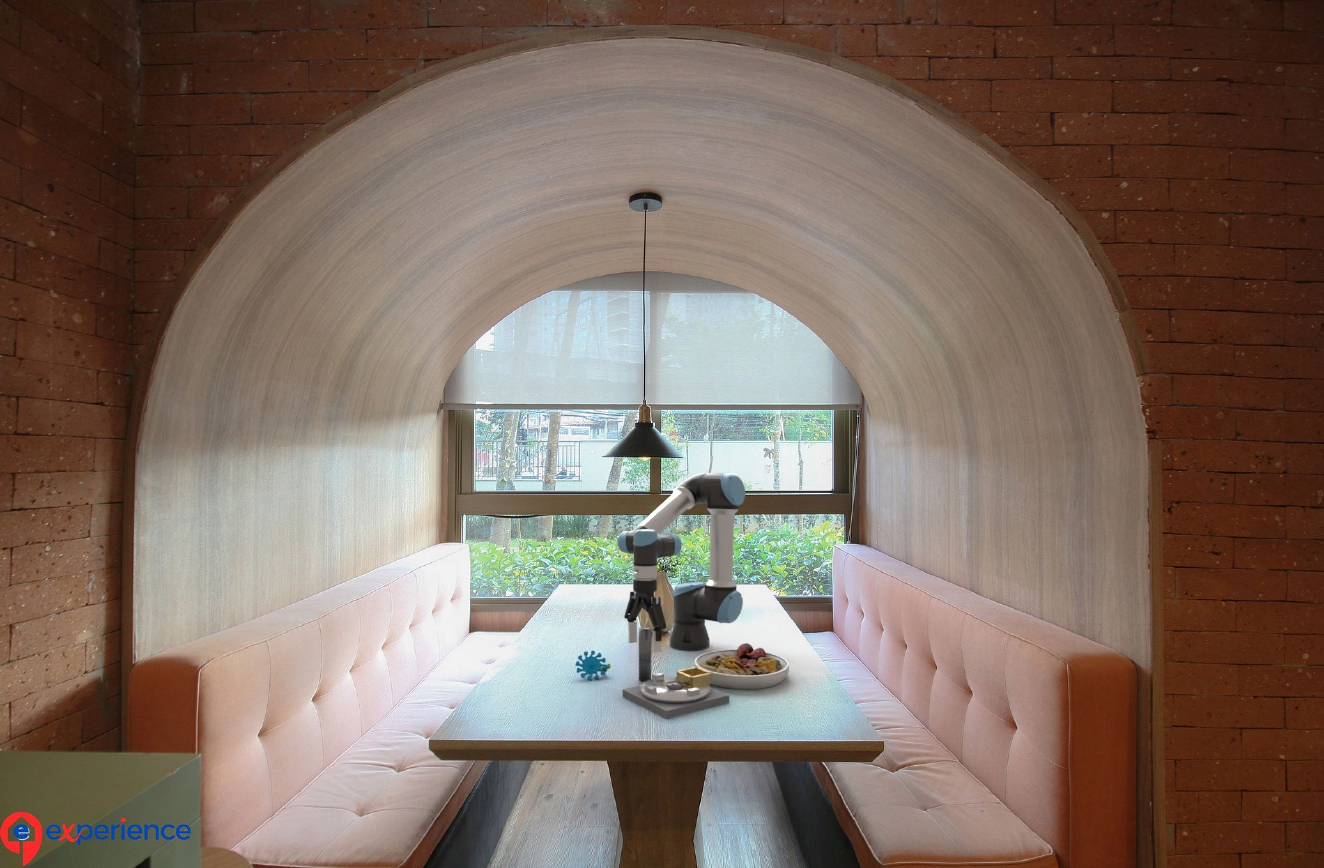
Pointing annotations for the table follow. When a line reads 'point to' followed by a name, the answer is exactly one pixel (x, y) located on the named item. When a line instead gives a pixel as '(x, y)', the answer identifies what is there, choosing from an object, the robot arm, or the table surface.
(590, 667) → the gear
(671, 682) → the silver disc with box
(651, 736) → the table surface
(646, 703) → the nut plate
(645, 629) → the pin
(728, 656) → the bowl
